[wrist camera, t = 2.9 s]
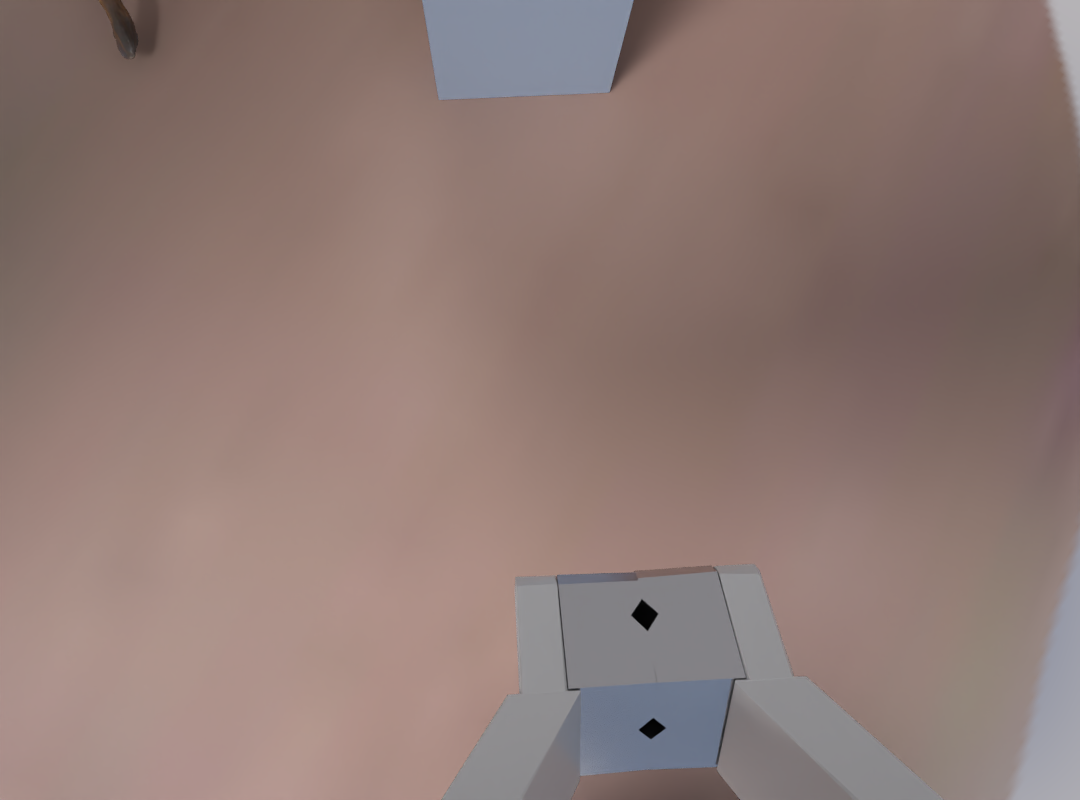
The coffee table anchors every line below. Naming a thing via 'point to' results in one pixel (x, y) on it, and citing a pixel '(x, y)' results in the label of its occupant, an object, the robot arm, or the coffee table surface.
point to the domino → (524, 46)
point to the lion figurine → (121, 27)
